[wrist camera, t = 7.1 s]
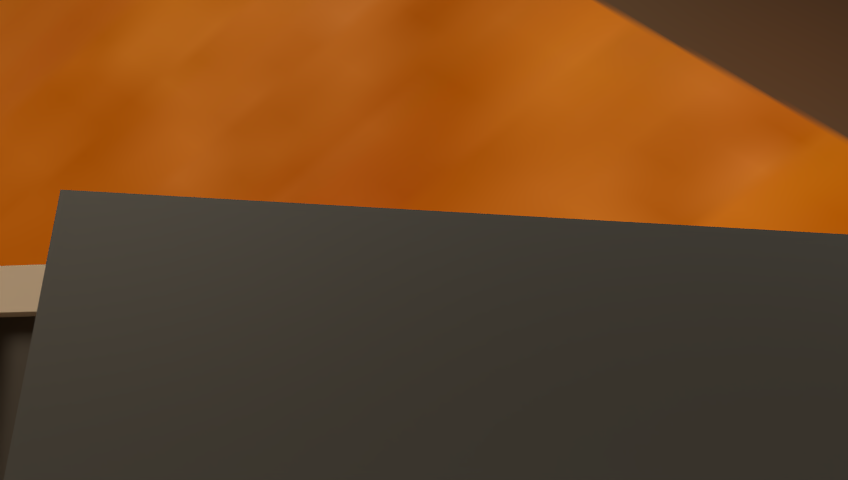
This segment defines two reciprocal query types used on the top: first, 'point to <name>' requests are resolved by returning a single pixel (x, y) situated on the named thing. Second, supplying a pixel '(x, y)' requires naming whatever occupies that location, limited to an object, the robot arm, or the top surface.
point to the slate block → (428, 347)
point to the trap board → (15, 342)
